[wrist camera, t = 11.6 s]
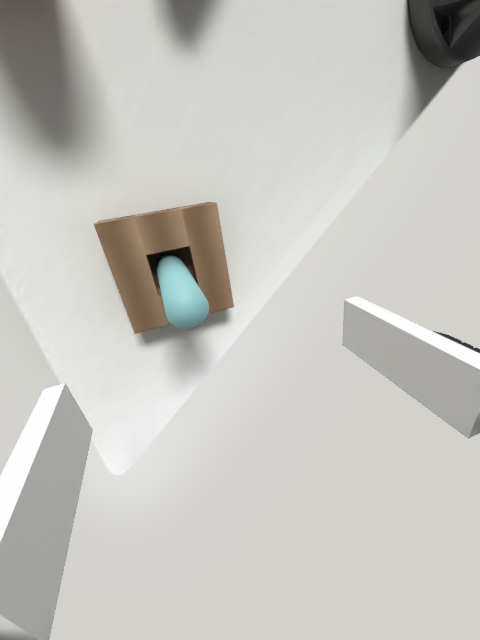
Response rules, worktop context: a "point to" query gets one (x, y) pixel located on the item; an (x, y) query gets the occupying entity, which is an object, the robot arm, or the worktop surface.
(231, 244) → the worktop surface
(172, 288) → the pin
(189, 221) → the board
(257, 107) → the worktop surface
